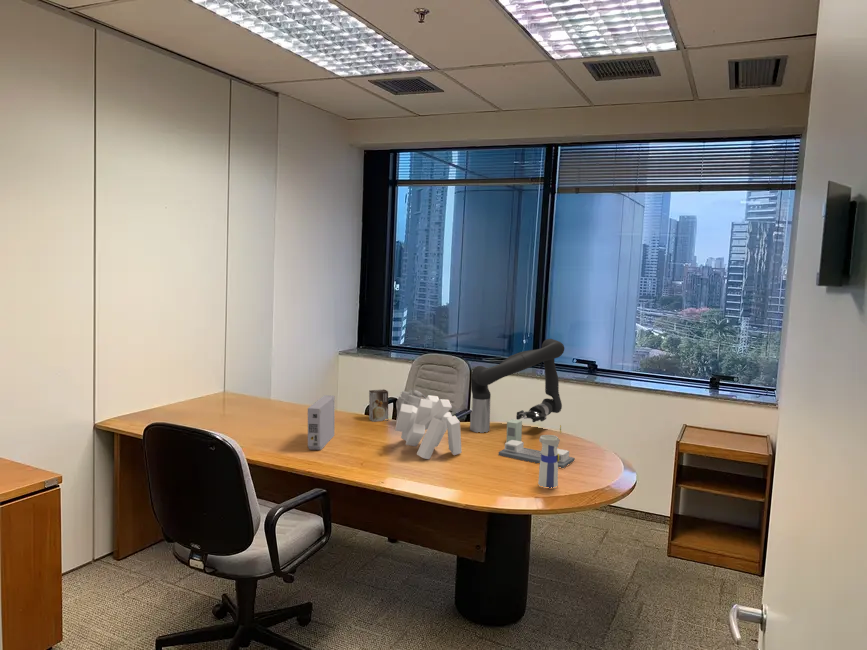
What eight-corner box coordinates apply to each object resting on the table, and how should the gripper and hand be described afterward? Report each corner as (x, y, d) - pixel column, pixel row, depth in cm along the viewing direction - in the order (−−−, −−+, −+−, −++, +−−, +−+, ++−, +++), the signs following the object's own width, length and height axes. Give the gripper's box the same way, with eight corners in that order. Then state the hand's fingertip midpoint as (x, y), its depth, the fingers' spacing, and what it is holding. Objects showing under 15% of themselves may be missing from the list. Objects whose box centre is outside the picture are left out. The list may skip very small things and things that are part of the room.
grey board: (498, 455, 285) (498, 452, 285) (511, 448, 296) (511, 445, 296) (563, 469, 268) (563, 465, 268) (574, 461, 279) (574, 457, 279)
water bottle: (556, 481, 253) (558, 420, 251) (561, 489, 245) (563, 426, 242) (535, 481, 253) (537, 420, 250) (540, 489, 245) (542, 426, 242)
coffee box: (384, 417, 348) (385, 389, 346) (388, 420, 342) (388, 391, 340) (368, 419, 344) (369, 390, 342) (372, 421, 338) (372, 392, 337)
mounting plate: (503, 450, 287) (503, 449, 287) (510, 447, 293) (510, 445, 293) (563, 463, 271) (563, 461, 271) (569, 459, 277) (570, 457, 277)
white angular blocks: (376, 460, 292) (378, 403, 272) (409, 423, 314) (413, 368, 294) (441, 492, 279) (448, 435, 259) (472, 451, 301) (480, 396, 281)
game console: (335, 435, 313) (335, 395, 311) (320, 451, 286) (320, 408, 284) (324, 434, 313) (323, 395, 311) (307, 451, 286) (307, 408, 284)
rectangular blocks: (504, 449, 286) (504, 443, 286) (511, 446, 293) (511, 439, 292) (562, 461, 271) (562, 455, 271) (568, 457, 277) (569, 450, 277)
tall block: (506, 444, 302) (506, 421, 301) (511, 441, 308) (512, 419, 306) (515, 446, 300) (516, 423, 298) (521, 443, 305) (522, 420, 304)
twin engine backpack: (434, 434, 328) (443, 397, 328) (402, 429, 320) (411, 391, 320) (420, 426, 344) (429, 390, 344) (389, 421, 336) (398, 384, 335)
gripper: (526, 403, 329) (512, 409, 315) (552, 406, 321) (538, 413, 308) (526, 417, 330) (512, 424, 316) (551, 421, 322) (538, 428, 308)
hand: (525, 418), depth 312 cm, fingers open, 8 cm apart
